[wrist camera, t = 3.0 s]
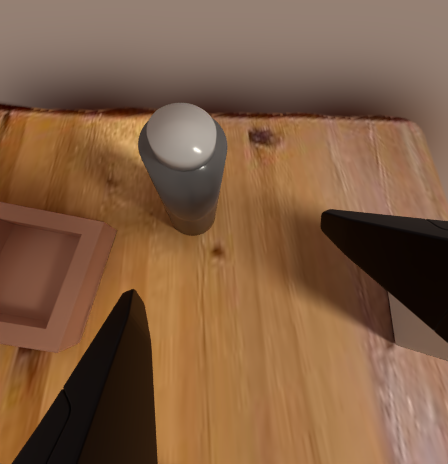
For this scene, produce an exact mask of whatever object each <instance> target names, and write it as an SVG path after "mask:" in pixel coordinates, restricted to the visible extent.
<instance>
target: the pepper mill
mask: <svg viewBox="0 0 448 464" xmlns="http://www.w3.org/2000/svg"><path fill="white" fill-rule="evenodd" d="M138 148H139V153H140V156H141V159H142V161H143V163H144V165H145V167H146V169H147V171H148V173H149V175H150V177H151V179H152V182H153V184H154V186H155V188H156V190H157V192H158V194H159V196H160V198H161V200H162V202H163V204H164V206H165V209H166V211H167V213H168V215H169V217H170V219H171V221H172V223H173V225H174V226H175V228H176V229H177V230H178V231H180V232H181V233H183V234H186V235H191V236H195V235H200V234H203V233H204V232H206V231H207V230H209V229H210V227H211V226H212V224H213V222H214V219H215V214H216V209H217V203H218V198H219V192H220V187H221V182H222V176H223V171H224V165H225V160H226V154H227V140H226V136H225V133H224V131H223V129H222V128H221V126H220V125H219V124H218V123H217V122H216V121H215V120H214V119H213V118H212V117H210V115H209V114H208V113H207V112H205V111H204V110H203V109H201V108H199V107H197V106H195V105H192V104H187V103H173V104H169V105H167V106H164V107H162V108H160V109H158V110H157V111H156V112H155V113H154V114H153V115H152V116H151V118H150V119H149V121H148V122H147V123H146V124H145V125H144V127H143V129H142V131H141V133H140V136H139V141H138Z"/></svg>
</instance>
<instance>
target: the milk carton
mask: <svg viewBox="0 0 448 464" xmlns="http://www.w3.org/2000/svg"><path fill="white" fill-rule="evenodd" d="M388 295H389V302H390V309H391V316H392V323H393V330H394V336H395V342H396V345H398V346H401V347H404V348H407V349H410V350H414V351H417V352H420V353H423V354H427V355H430V356H433V357H436V358H440V359H443V360H446V361H448V343H447V342H446V341H444V340H443V339H442V338H441V337H440V336H439V335H438V334H436V333H435V332H434V331H433V330H432V329H431V328H430V327H428V326H427V325H426V324H425V323H424V322H423V321H422V320H420V319H419V318H418V317H417V316H416V315H415V314H413V313H412V312H411V311H410V310H409V309H408V308H406V307H405V306H404V305H403V304H402V303H401V302H399V301H398V300H397V299H396V298H395V297H394V296H392V295H391V294H390V293H389V292H388Z"/></svg>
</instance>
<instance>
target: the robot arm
mask: <svg viewBox="0 0 448 464" xmlns="http://www.w3.org/2000/svg"><path fill="white" fill-rule="evenodd" d="M321 230H322V231H323V232H324V233H325V235H326V236H327V237H328V238H329V239H330V240H331V241H332V242H333V243H334V244H335V245H336V246H337V247H338V248H339V249H340V250H341V251H342V252H343V253H344V254H345V255H346V256H347V257H348V258H350V259H351V260H352V261H353V262H354V263H355V264H356V265H358V266H359V267H360V268H361V269H362V270H363V271H365V272H366V273H367V274H368V275H369V276H370V277H372V278H373V279H374V280H375V281H376V282H377V283H379V284H380V285H381V286H382V287H383V288H384V289H386V290H387V291H388V292H389V293H390V294H391V295H392V296H394V297H395V298H396V299H397V300H398V301H399V302H401V303H402V304H403V305H404V306H405V307H406V308H408V309H409V310H410V311H411V312H412V313H413V314H415V315H416V316H417V317H418V318H419V319H420V320H422V321H423V322H424V323H425V324H426V325H427V326H428V327H430V328H431V329H432V330H433V331H434V332H435V333H436V334H438V335H439V336H440V337H441V338H442V339H443V340H444V341H446V342H447V343H448V221H440V220H431V219H421V218H411V217H401V216H392V215H382V214H372V213H363V212H353V211H343V210H334V209H329V210H327V211H324V212H323V213H322V214H321ZM63 388H64V389H62V390H61V391H60V393H59V394H58V396H57V397H56V399H55V401H54V402H53V404H52V405H51V407H50V408H49V410H48V411H47V413H46V414H45V416H44V417H43V419H42V420H41V422H40V424H39V425H38V427H37V428H36V430H35V431H34V432H33V434H32V435H31V437H30V438H29V440H28V441H27V442H26V444H25V445H24V447H23V448H22V450H21V451H20V452H19V454H18V455H17V457H16V458H15V460H14V461H13V462H12V464H158V462H157V443H156V424H155V405H154V386H153V367H152V348H151V339H150V333H149V327H148V321H147V316H146V310H145V305H144V303H143V301H142V299H141V298H140V296H139V295H138V293H137V292H136V290H134V289H131V290H129V291H126V292H124V293H123V294H122V295H121V297H120V299H119V300H118V302H117V303H116V305H115V306H114V308H113V310H112V311H111V313H110V314H109V316H108V317H107V319H106V321H105V322H104V324H103V325H102V327H101V328H100V330H99V332H98V333H97V335H96V336H95V338H94V339H93V341H92V343H91V344H90V346H89V347H88V349H87V350H86V352H85V354H84V355H83V357H82V358H81V360H80V361H79V363H78V365H77V366H76V368H75V369H74V371H73V372H72V374H71V376H70V377H69V379H68V380H67V382H66V383H65V385H64V387H63Z"/></svg>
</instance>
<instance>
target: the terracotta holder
mask: <svg viewBox="0 0 448 464" xmlns="http://www.w3.org/2000/svg"><path fill="white" fill-rule="evenodd" d="M116 232H117V230H116V229H114V228H112V227H111V226H109V225H108V224H106V223H105V222H101V221H96V220H91V219H86V218H81V217H76V216H70V215H65V214H60V213H55V212H50V211H45V210H40V209H35V208H29V207H24V206H19V205H14V204H9V203H4V202H0V344H5V345H11V346H18V347H24V348H30V349H36V350H43V351H49V352H55V353H58V352H61V351H63V350H65V349H67V348H69V347H71V346H74V345H76V344H78V343H80V340H81V337H82V334H83V331H84V328H85V325H86V322H87V319H88V316H89V313H90V310H91V307H92V304H93V301H94V298H95V295H96V292H97V289H98V286H99V283H100V280H101V277H102V274H103V271H104V268H105V265H106V262H107V259H108V256H109V253H110V250H111V247H112V244H113V241H114V238H115V235H116Z"/></svg>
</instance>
